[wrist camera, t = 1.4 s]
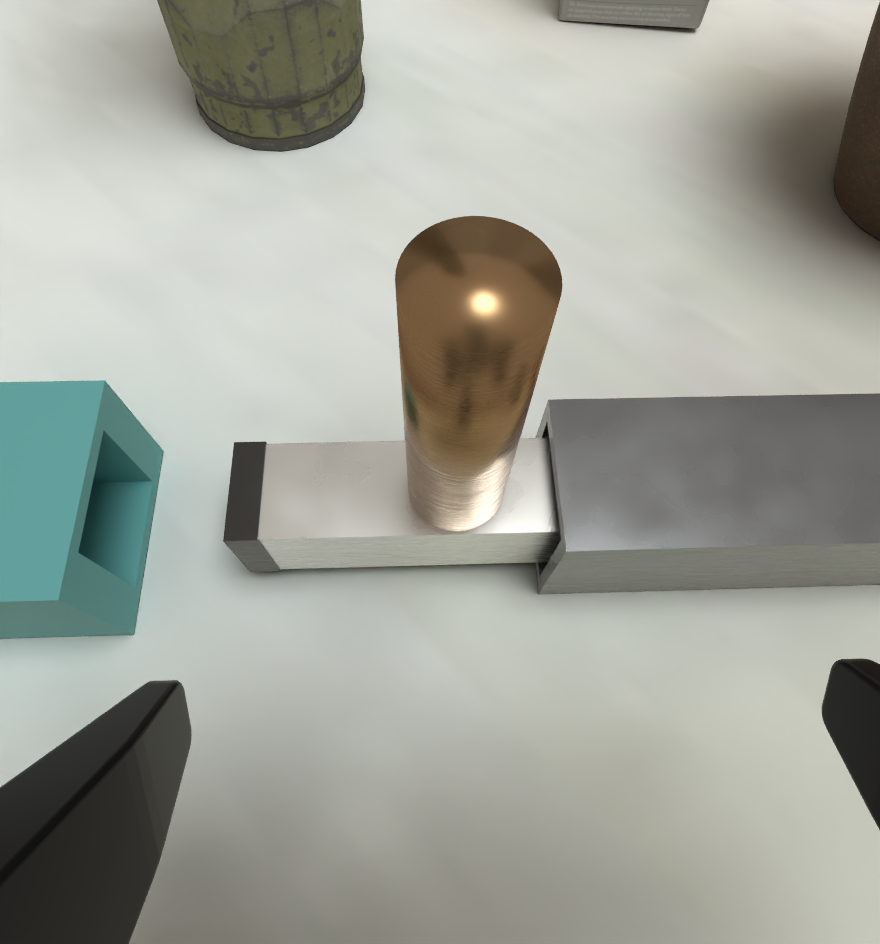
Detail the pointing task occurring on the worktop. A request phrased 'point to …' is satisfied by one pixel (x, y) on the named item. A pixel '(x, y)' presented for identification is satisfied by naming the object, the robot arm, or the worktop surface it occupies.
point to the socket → (72, 509)
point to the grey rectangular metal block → (714, 492)
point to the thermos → (271, 67)
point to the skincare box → (635, 12)
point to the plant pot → (862, 142)
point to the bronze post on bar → (427, 427)
